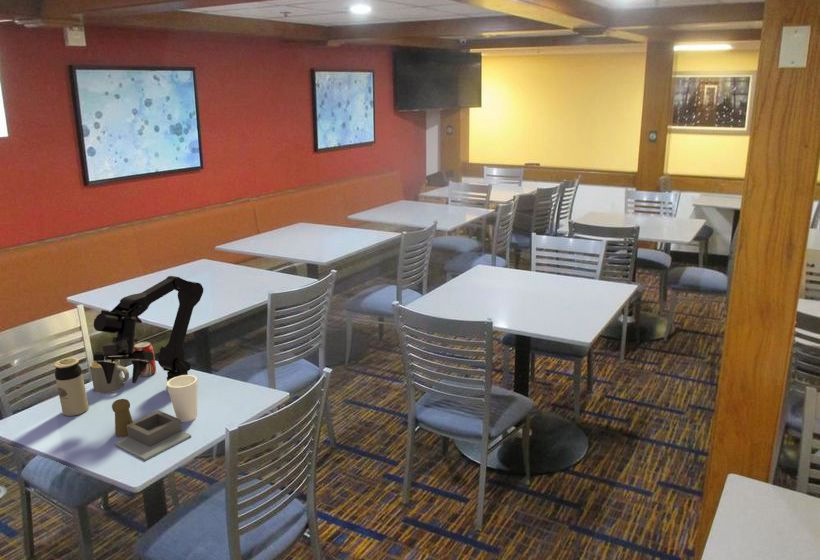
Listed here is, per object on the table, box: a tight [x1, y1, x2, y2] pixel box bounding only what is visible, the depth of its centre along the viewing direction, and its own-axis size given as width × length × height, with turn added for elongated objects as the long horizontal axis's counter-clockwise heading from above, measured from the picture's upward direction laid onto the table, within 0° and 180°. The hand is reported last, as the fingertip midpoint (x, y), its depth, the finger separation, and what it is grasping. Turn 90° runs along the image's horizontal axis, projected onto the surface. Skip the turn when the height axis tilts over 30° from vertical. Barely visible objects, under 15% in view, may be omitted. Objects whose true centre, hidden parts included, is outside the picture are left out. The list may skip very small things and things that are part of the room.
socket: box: [114, 410, 192, 461], centre depth 204 cm, size 16×16×5 cm
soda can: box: [133, 341, 157, 377], centre depth 251 cm, size 7×7×12 cm
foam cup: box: [166, 374, 199, 423], centre depth 217 cm, size 10×9×13 cm
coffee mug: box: [89, 360, 130, 394], centre depth 241 cm, size 13×10×10 cm
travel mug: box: [53, 357, 90, 417], centre depth 223 cm, size 8×8×18 cm
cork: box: [111, 398, 134, 438], centre depth 209 cm, size 6×6×11 cm
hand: (121, 383), depth 215 cm, fingers open, 9 cm apart
